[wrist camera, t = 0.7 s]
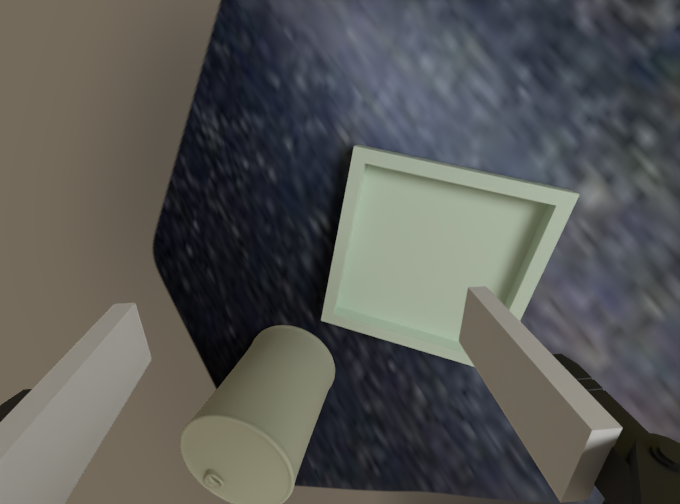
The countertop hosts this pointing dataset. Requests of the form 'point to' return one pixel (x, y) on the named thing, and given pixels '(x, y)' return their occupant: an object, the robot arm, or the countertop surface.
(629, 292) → the countertop surface
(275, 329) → the can
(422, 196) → the tray
